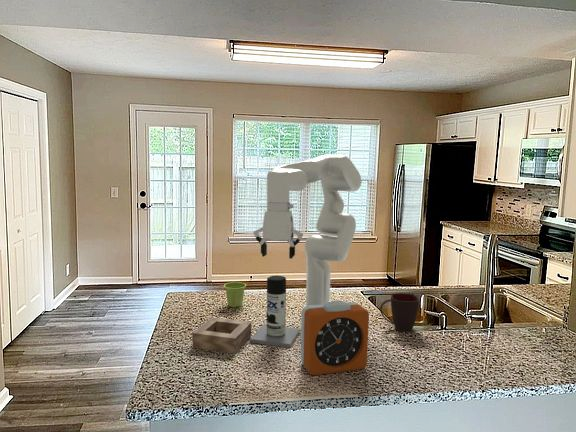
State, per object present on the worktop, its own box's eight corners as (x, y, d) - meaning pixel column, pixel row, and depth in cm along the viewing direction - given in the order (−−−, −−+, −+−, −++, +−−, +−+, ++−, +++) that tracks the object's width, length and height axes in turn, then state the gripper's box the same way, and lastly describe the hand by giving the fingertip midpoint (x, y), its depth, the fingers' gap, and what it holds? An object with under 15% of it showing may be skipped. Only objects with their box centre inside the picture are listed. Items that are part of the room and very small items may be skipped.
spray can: (262, 334, 156) (263, 278, 154) (272, 328, 162) (273, 274, 160) (279, 338, 153) (280, 281, 151) (288, 331, 159) (289, 276, 156)
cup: (420, 334, 162) (422, 302, 161) (381, 333, 163) (383, 301, 161) (413, 324, 172) (415, 293, 170) (376, 323, 172) (378, 292, 171)
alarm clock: (309, 377, 130) (310, 308, 127) (299, 363, 138) (301, 298, 135) (367, 369, 135) (370, 303, 132) (355, 356, 143) (357, 294, 140)
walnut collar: (251, 335, 158) (251, 321, 158) (235, 353, 144) (235, 338, 143) (211, 330, 162) (211, 317, 162) (192, 347, 148) (192, 332, 147)
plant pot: (220, 307, 187) (219, 287, 186) (229, 300, 196) (229, 281, 195) (240, 309, 184) (241, 289, 183) (249, 302, 193) (249, 283, 192)
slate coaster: (299, 331, 163) (300, 328, 162) (289, 347, 149) (289, 344, 149) (262, 327, 166) (263, 324, 166) (249, 342, 153) (250, 338, 153)
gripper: (305, 206, 153) (304, 256, 156) (257, 204, 158) (257, 252, 160) (300, 209, 146) (299, 261, 149) (250, 207, 151) (250, 257, 153)
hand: (277, 256), depth 155 cm, fingers open, 9 cm apart
